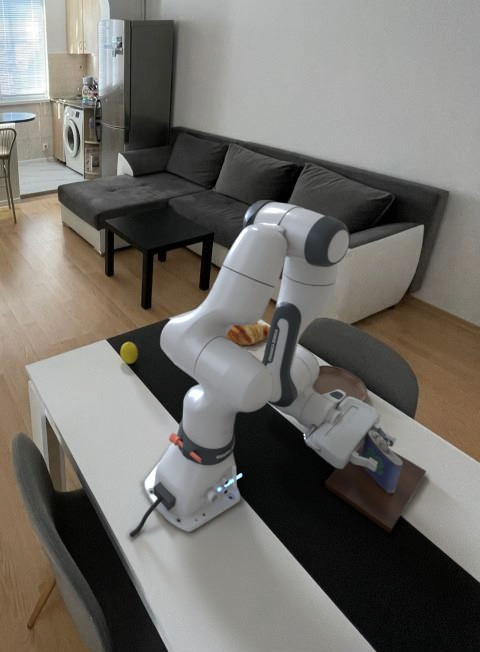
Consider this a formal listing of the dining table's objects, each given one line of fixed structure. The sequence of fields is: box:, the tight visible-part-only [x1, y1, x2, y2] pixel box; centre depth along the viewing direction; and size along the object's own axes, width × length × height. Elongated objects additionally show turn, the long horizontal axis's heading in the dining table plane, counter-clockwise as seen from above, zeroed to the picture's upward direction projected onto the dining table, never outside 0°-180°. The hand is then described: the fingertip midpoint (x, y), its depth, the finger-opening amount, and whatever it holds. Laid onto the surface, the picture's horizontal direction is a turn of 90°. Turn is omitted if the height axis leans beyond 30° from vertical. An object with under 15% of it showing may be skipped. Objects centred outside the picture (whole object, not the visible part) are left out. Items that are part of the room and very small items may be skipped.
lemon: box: [120, 341, 139, 365], centre depth 137 cm, size 6×6×8 cm
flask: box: [361, 430, 403, 494], centre depth 96 cm, size 9×3×11 cm, turn 6°
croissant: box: [226, 321, 270, 346], centre depth 145 cm, size 21×10×8 cm, turn 97°
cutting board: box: [324, 442, 427, 534], centre depth 97 cm, size 20×13×2 cm, turn 127°
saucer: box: [312, 364, 369, 402], centre depth 122 cm, size 15×15×3 cm
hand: (385, 454), depth 94 cm, fingers open, 8 cm apart
